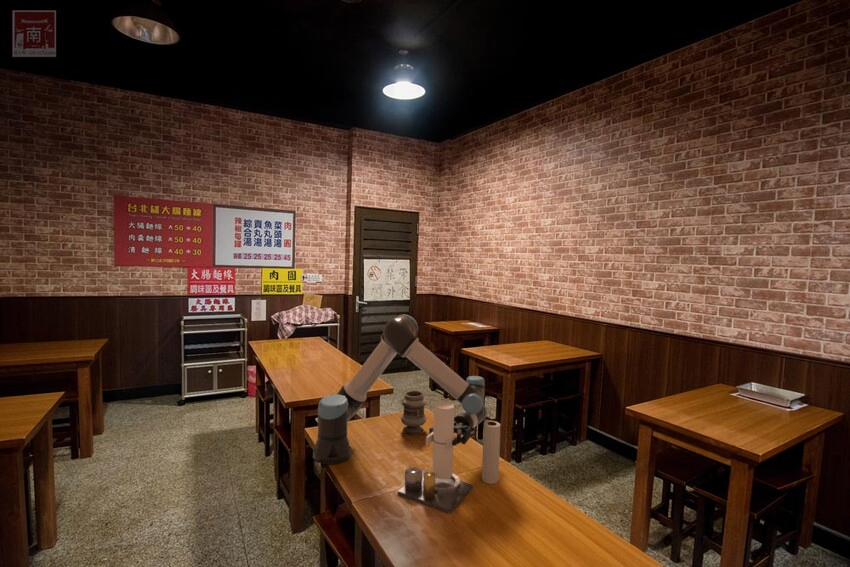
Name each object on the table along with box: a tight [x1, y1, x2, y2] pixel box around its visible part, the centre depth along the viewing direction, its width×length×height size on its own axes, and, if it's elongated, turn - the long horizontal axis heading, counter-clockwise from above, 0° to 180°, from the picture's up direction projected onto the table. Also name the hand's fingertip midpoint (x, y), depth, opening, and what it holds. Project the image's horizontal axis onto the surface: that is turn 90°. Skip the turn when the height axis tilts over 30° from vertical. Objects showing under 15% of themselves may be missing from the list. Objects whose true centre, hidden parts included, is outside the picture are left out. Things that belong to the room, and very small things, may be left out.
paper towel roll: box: [481, 418, 501, 485], centre depth 154 cm, size 7×6×21 cm
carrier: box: [397, 466, 474, 514], centre depth 146 cm, size 20×20×8 cm
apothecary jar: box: [400, 390, 427, 436], centre depth 196 cm, size 12×12×18 cm
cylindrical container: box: [432, 401, 455, 480], centre depth 148 cm, size 7×7×25 cm
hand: (436, 443), depth 144 cm, fingers closed on cylindrical container, 7 cm apart
